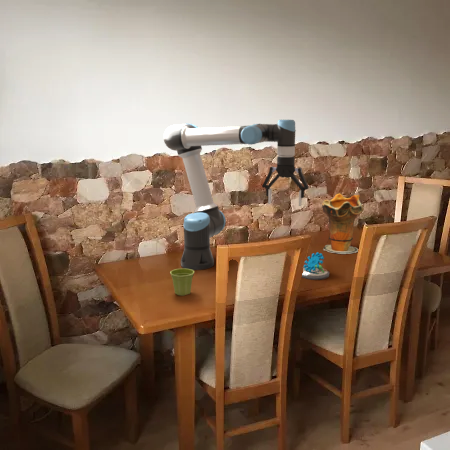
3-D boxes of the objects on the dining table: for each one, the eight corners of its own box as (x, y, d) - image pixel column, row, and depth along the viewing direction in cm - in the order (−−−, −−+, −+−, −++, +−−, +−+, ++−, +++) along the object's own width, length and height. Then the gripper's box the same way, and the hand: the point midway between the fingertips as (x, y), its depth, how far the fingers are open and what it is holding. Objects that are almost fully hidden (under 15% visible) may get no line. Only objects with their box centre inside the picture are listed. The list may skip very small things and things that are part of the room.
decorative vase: (314, 252, 254) (317, 196, 249) (324, 243, 275) (327, 191, 270) (357, 257, 246) (361, 199, 241) (364, 247, 267) (367, 193, 262)
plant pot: (173, 288, 208) (172, 267, 206) (196, 289, 207) (196, 268, 205) (168, 297, 199) (167, 275, 197) (192, 297, 198) (192, 276, 196)
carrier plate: (295, 277, 219) (296, 274, 219) (301, 268, 231) (301, 265, 231) (326, 281, 215) (326, 277, 215) (331, 271, 227) (331, 268, 227)
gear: (299, 263, 227) (315, 247, 226) (307, 271, 230) (323, 255, 229) (310, 275, 217) (327, 258, 217) (318, 282, 220) (335, 266, 219)
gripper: (316, 156, 222) (314, 204, 227) (260, 154, 230) (259, 201, 235) (313, 157, 215) (311, 207, 220) (255, 156, 223) (255, 204, 228)
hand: (284, 204), depth 228 cm, fingers open, 13 cm apart
